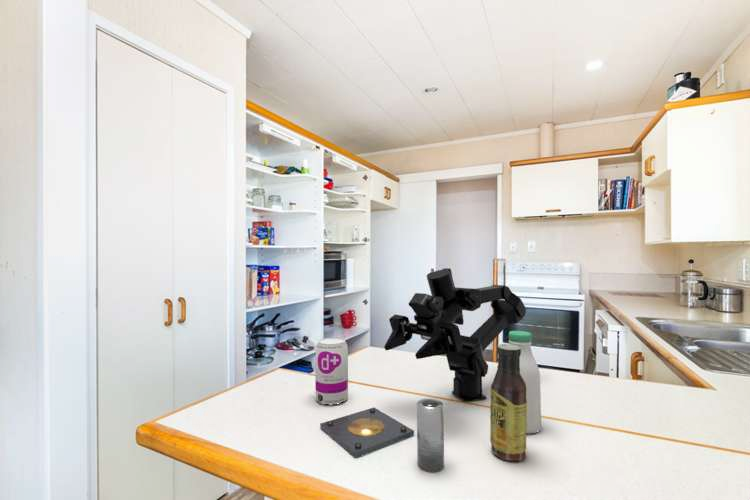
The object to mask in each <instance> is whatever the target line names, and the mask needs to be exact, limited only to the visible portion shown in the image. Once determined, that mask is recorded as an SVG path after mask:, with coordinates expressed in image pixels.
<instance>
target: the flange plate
mask: <svg viewBox="0 0 750 500" xmlns="http://www.w3.org/2000/svg"><path fill="white" fill-rule="evenodd" d="M319 428H320V429H321V430H322V432H324V433H325V434H327V435H328V437H330V438H331V439H332V440H333V441H335V442H336V443H337V444H338V445H340V447H341V448H342V449H344V451H345V450H346V452H347V453H348V454H350V455H351V456H352V457H353V458H355V459H357V458H361V457H362V456H365V455H367V454H370V453H372V452H373V453H374V452H375V451H378V450H380V449H383V448H386V447H388V446H390V445H393V444H396V443H398V442H399V443H400V442H402V441H403V440H406V439H409V438H412V437H414V436H415V430H413V429H412V428H410V427H408V426H407V425H405V424H404V423H401V422H400V421H398V420H397V419H395V418H394V417H391V416H390V415H388V414H387V413H385V412H383V411H381V410H380V409H377V408H376V407H371V408H368V409H365V410H361V411H358V412H354V413H351V414H348V415H344V416H341V417H337V418H334V419H331V420H327V421H324V422H321V423H320V426H319ZM413 435H414V436H413ZM411 436H412V437H411Z"/></svg>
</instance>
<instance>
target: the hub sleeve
mask: <svg viewBox="0 0 750 500" xmlns="http://www.w3.org/2000/svg"><path fill="white" fill-rule="evenodd" d="M444 414H445V413H444V403H443V402H442V401H440V400H439V399H435V398H423V399H420V400H418V401H417V402H416V428H417V429H416V432H417V433H416V434H417V435H416V436H417V437H416V439H417V440H416V444H417V446H416V447H417V448H416V449H417V450H416V451H417V453H416V454H417V460H416V461H417V462H416V463H417V467H418V468H419V469H420V470H422V471H424V472H426V473H433V474H434V473H438V472H442V471H443V469H445V447H444V446H445V438H444V437H445V431H444V430H445V425H444V416H445V415H444Z"/></svg>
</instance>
